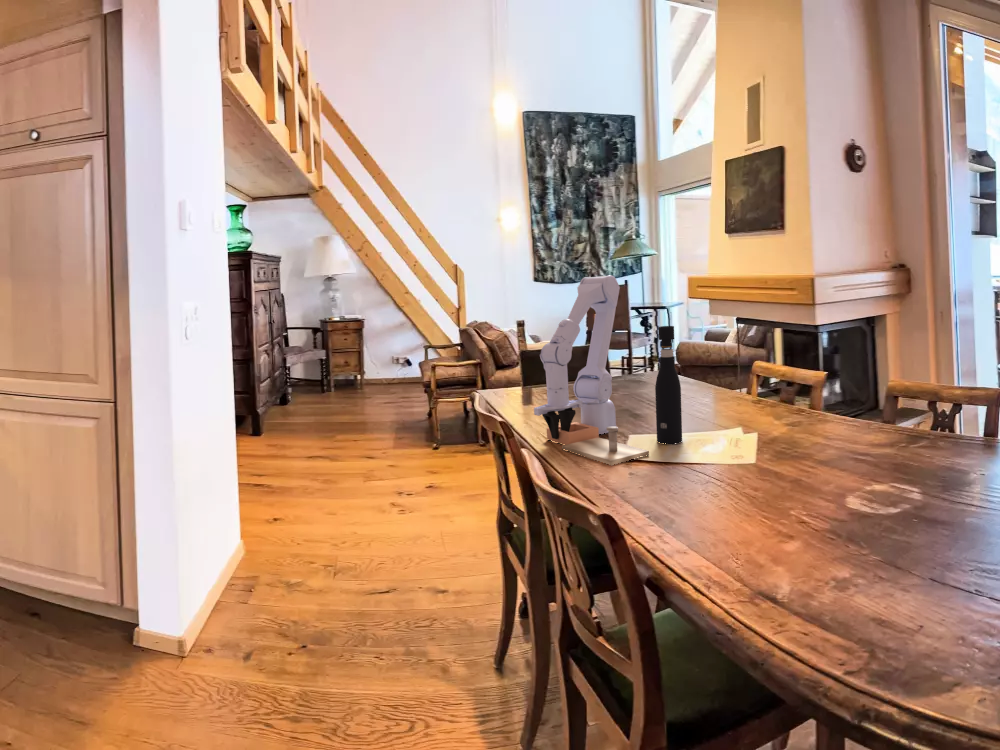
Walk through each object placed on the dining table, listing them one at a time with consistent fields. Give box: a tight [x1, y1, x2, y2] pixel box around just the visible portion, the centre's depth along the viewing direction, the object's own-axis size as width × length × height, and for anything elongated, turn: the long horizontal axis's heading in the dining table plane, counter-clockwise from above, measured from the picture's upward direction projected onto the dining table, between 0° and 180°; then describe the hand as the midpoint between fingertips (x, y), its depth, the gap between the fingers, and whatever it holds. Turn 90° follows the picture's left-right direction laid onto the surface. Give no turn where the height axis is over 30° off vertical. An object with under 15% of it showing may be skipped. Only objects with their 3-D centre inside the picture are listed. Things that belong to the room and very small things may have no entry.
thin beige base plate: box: [561, 426, 650, 466], centre depth 158 cm, size 12×19×7 cm, turn 30°
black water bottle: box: [654, 325, 683, 445], centre depth 163 cm, size 6×6×30 cm
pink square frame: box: [546, 421, 600, 445], centre depth 173 cm, size 10×10×4 cm
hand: (560, 437), depth 171 cm, fingers open, 3 cm apart
